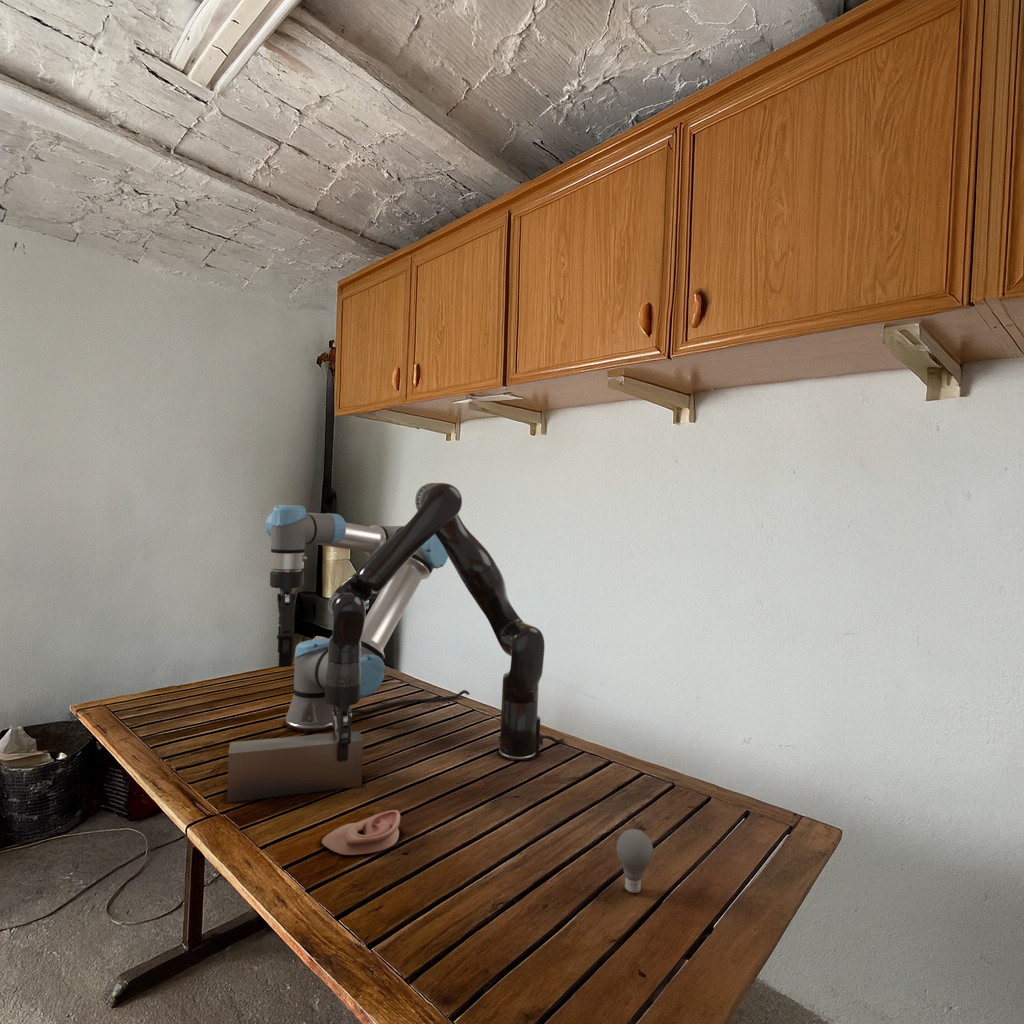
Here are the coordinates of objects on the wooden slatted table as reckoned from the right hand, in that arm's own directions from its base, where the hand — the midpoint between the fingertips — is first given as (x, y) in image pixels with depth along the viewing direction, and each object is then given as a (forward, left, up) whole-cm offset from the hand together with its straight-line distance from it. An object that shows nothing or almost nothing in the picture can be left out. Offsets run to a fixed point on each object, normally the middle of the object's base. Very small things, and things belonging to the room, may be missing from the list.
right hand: (340, 753), depth 140 cm
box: (+9, -1, -7) cm, 11 cm away
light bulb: (-36, +58, -7) cm, 69 cm away
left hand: (+10, -17, +17) cm, 27 cm away
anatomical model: (+1, +25, -7) cm, 26 cm away
